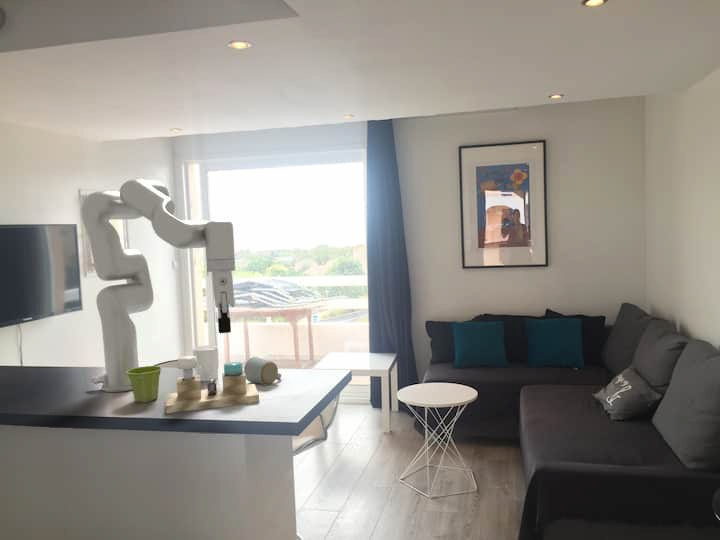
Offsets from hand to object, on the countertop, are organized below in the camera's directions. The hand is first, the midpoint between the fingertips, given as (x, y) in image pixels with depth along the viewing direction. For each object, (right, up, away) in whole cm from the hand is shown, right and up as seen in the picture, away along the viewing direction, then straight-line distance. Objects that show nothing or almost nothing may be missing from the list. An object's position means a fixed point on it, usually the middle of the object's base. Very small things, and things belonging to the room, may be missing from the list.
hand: (224, 332), depth 159 cm
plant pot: (-23, -20, +5) cm, 31 cm away
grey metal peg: (-3, -17, 0) cm, 17 cm away
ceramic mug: (+8, -18, +19) cm, 27 cm away
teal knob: (+2, -16, +2) cm, 17 cm away
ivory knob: (-9, -14, -2) cm, 17 cm away
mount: (-3, -19, 0) cm, 19 cm away
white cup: (-12, -18, +26) cm, 33 cm away
